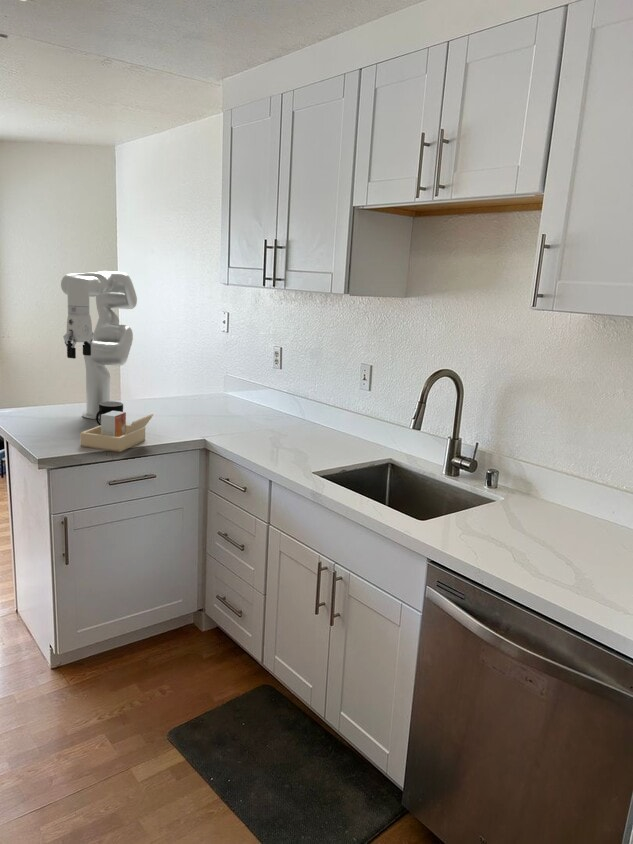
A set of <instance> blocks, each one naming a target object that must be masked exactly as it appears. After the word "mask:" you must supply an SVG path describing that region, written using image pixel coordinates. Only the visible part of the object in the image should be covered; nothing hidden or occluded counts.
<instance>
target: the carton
mask: <svg viewBox="0 0 633 844" xmlns="http://www.w3.org/2000/svg"><path fill="white" fill-rule="evenodd" d="M130 425H131V424H126V431H127V430H128V428H129V427H130ZM79 437H80V447H81V448H88V449H94V450H102V451H109V452H115V453H116V452H117V453H121V452H124V451H126V450H128V449H129V448H131V447H134V446H136V445H138V444H140V443H142V442H144V441H145V440H146V426H145V427H144V428H141V429H139V430H137V431H134V432H132V433H130V434H128V435H122V436H120V437H114V436H107V435H101V425H98V426H95V427H92V428H90V429H86V430H84V431H82V432H80V436H79Z"/></svg>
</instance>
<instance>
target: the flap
mask: <svg viewBox="0 0 633 844" xmlns="http://www.w3.org/2000/svg"><path fill="white" fill-rule="evenodd" d="M153 416H154V413H152V414H149V415H147V416H144V417H142V418H139V419H137V420H135V421H134V420H133V421H132V423H131V424H129V425H130V427H129V428H128V430H127V431H126V432H125V434H124V435H128V434H130V433H132V432H134V431H137V430H139V429H141V428H144V427H145V428H146V426H147V425H148V423H150V421H151V419H152V417H153Z"/></svg>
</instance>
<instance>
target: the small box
mask: <svg viewBox="0 0 633 844" xmlns="http://www.w3.org/2000/svg"><path fill="white" fill-rule="evenodd" d="M126 419H127V412H126V411H123V412H120V411H111V412H108V413H105V414H102V415H101V422H100V424H101V435H107V436H114V437H120V436H122V435H124V434H125V432H126V425H127V422H126V421H127V420H126Z"/></svg>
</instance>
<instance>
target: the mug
mask: <svg viewBox="0 0 633 844" xmlns="http://www.w3.org/2000/svg"><path fill="white" fill-rule="evenodd" d="M111 411H120V412H124V403H123V402H121V401H115V400H114V401H112V400H110V401H106V402H101V403H99V411H98V413H97V414H96V419H95V422H96V423H97V425H98V426H100V425H101V415H102V414H105V413H108V412H111ZM99 414H100V419H98V417H99Z"/></svg>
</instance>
